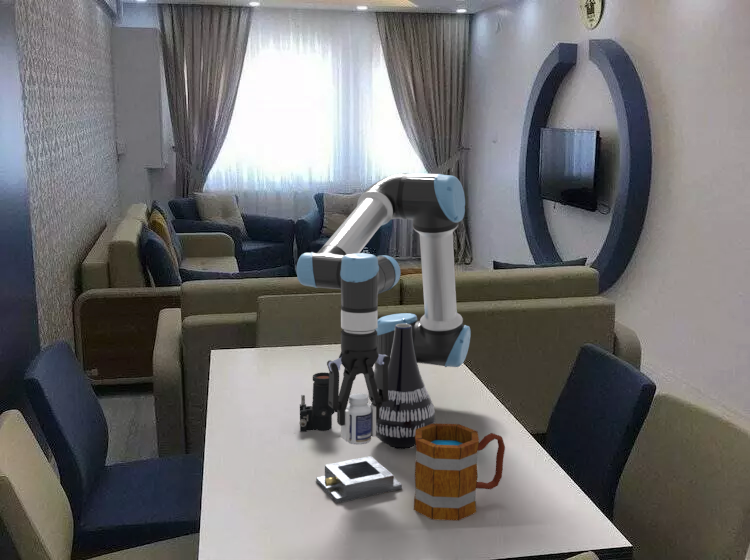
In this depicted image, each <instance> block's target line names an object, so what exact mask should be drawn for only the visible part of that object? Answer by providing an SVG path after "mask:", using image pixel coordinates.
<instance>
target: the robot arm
mask: <svg viewBox="0 0 750 560" xmlns="http://www.w3.org/2000/svg"><path fill="white" fill-rule="evenodd" d="M465 206H466V196H465V190H464V188H463V185H462V183H461V181H460V180H459V178H457V176H455V175H449V174H443V173H404V172H403V173H402V172H400V173H395V174H390V175H389V176H388V175H387V176H386V177H383V178H382V179H380V180H378V181H377V182H375V183H373V184H372V185H370V186H369V187H368V188H367V189H366V190H364V192H363V193H362V194H361V195H360V196H359V198H358V199H357V204H356V206H355V208H354V209H353V210H352V212H351V213H350V214H349V215H348V217H347V218H345V220H344V221H343V222H342V223H341V225H340V226H339V227H338V228H337V230H335V232H334V233H333V234H332V235H331V236H330V237H329V239H328V240H327V241H326V242H325V243H324V245H323V246H322V247H321V248H320V249H319V250H318V251H317V252H314V251H311V252H304V253H302V254H301V255H300V256H299V258H298V259H297V263H296V267H295V268H296V270H295V271H296V275H297V280H298V282H299V283H300V284H301V285H303V286H304V287H312V288H315V289H332V290H334V289H335V290H340V303H341V304H340V328H341V329H342V330H340V349H341V351H340V354H339V356H338V358H336V359H335V360H330V359H329V360H328V361H327V362H326V366H327V369H328V373H329V396H328V405H329V406H330V407H331V408H333V409H334V410H337V412H336V422H337V424H338V425H339V426H340V438H341V439H342V440H344V441H345V442H347V441H349V429H350V411H349V410H347V409H346V408H347V406H348V405H349V404H348V403H349V396H350V395H351V393H352V388H353V384H354V381H355V380H356V377H357V376H358V375H360V374H361V375H363V376H364V381H365V383H366V384H365V385H366V388H367V393H368V398H369V400H370V402H368V403H367V404H368V405H369V406H370V407H371V438H374V437H376V420H378V419H379V417H380V415H379V414H380V407H381V406H382V403H383V402H387V401H388V365H389V362H390V355H391V350H392V345H393V340H394V332H395V325H397V324H410V325H411V326H412V336H413V344H414V350H415V356H416V360H417V364H421V365H431V366H439V367H444V368H448V367H449V368H451V367H452V368H459V367H461V366H462V365H463V363H464V361H466V358H467V355H468V351H469V348H470V343H471V337H472V336H471V334H472V332H471V328H470V326H469V325H466V324H464V322H463V321H464V318H463V317H462V315H461V314H460V313H458V311H457V293H456V275H455V274H456V273H455V272H456V271H455V269H456V268H455V252H454V231H455V230H456V229H457V228H458V227H459V222H461V221H463V220H464V217H465V215H466V214H465V212H466V209H465ZM396 219H398V220H399V219H402V220H410V221H412V228H413V230H414V231H415V232H416V233H418V234H419V244H420V245H419V247H420V259H421V260H420V261H421V275H422V276H421V277H422V278H421V279H422V288H423V289H422V290H423V303H424V305H423V306H424V314H423V315H422V316H421V317H420V320H418V317H417V315H416V314H415V313H410V312H408V313H407V312H405V313H404V312H403V313H393V314H388V315H383V316H381V317H380V318H378V317H379V315H378V313H379V312H378V310H379V309H378V307H379V306H378V301H379V294H382V293H384V292H386V291H389V290H391V289H392V288H394V286H396V285H397V284H398V283H399V281H400V278H401V275H402V274H401V272H402V271H401V267H400V265H399V263H398V261H397V260H396V259H395V258H394V257H392V256H389V255H383V254H382V255H377V256H376V255H375V254H371V253H365V252H364V253H363V252H362V250H363V249H364V248H365V247H366V245H367V244H368V243H369V242H370V240H371V239H372V238H373V236H374V235H375V233H376V232H377V231H378V230H379V229H380V227H381V226H384V225H386V224H388V223H389V222H390V221H391V220H396ZM341 365H342V366H343V368H344V370H343V374H342V375H343V377H342V382H341V386H340V370H341ZM373 367H374V368H373ZM371 403H372V404H371ZM347 443H348V442H347Z"/></svg>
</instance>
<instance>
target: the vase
mask: <svg viewBox="0 0 750 560" xmlns="http://www.w3.org/2000/svg"><path fill="white" fill-rule="evenodd" d="M424 382H425V381H424V380H423V378H422V375H421V371H420V369H419V364H418V363H417V360H416V356H415V350H414V344H413V336H412V326H411V325H410V324H397V325H395V332H394V340H393V345H392V350H391V355H390V362H389V365H388V401H387V402H383V403H382V406H381V407H380V414H379V415H380V417H379V419H378V420H376V436H375V437H376V438H377V439H378V440H380V441H381V442H383V443H384V444H386V445H388V446H389V447H391V448H392V449H396V450H407V449H411V448H413V447H416V443H415V432H416V429H418V428H421V427H424V426H427V425H430V424H433V423H436V412H435V407H434V403H433V400H432V398H431V395H430V393H429V391H428V390H427V387H426V385H425V383H424ZM370 403H371V404H372V402H370Z"/></svg>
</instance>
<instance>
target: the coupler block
mask: <svg viewBox="0 0 750 560" xmlns="http://www.w3.org/2000/svg"><path fill="white" fill-rule="evenodd" d="M315 482H316V483H317V485H319V487H321V489H322V490H323V491H324V492H325V493H327V495H329V497H330V498H331V499H332V500H333V501H334V502H335V503H336V504H340V503H344V502H348V501H353V500H358V499H362V498H366V497H371V496H376V495H380V494H385V493H389V492H395V491H398V490H399V491H400V490H402V489H403V484H402V483H401V482H400V481H398V480H397V479H396V478H395V477H394V474H393V473H392V472H390V471H389V470H388V469H387V468H386V467H385V466H383V465H382V464H381V463H380V462H378V460H376V459H375V458H374V457H373V456H371V455H369V456H363V457H359V458H358V457H357V458H353V459H349V460H348V459H347V460H343V461H338V462H334V463H333V462H332V463H327V464H324V475H321V476H317V477H316V478H315Z"/></svg>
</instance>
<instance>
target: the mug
mask: <svg viewBox="0 0 750 560" xmlns="http://www.w3.org/2000/svg"><path fill="white" fill-rule="evenodd" d="M494 440H497V446H498V447H497V450H496V455H495V472H494V476H493V478H492V480H491V481H489V482H484V481H478V478H479V476H478V452H479V451H483V450H484V449H485V448H486V447H488V444H489V443H490V442H492V441H494ZM415 443H416V445H415V451H416V452H415V462H414V463H415V464H414V483H415V485H414V486H415V490H414V498H413V511H415V512H417V513H418V514H420V515H422V516H425V517H426V518H428V519H430V520H432V521H433V520H435V521H436V520H439V521H458V522H460V521H461V520H464V519H465V518H468V517H469V516H472V515H474V514H476V513H477V504H476V502H477V501H476V497H477V496H476V495H477V494H476V493H477V491H476V490H477V489H480V490H481V489H482V490H483V489H484V490H492V489H495V488H496V487H499V484H500V482H501V480H502V477H503V470H504V469H503V467H504V456H505V450H506V447H505V443H504V439H503V437H502V436H501V435H499V434H496V433H493V432H490V433H489V434H485V436H484V437H482V438H481V440H480V438H479V432H478V430H475V429H473V428H470V427H467V426H465V425H462V424H459V423H437V422H435V423H433V424H430V425H427V426H424V427H421V428H418V429H416V432H415Z"/></svg>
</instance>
